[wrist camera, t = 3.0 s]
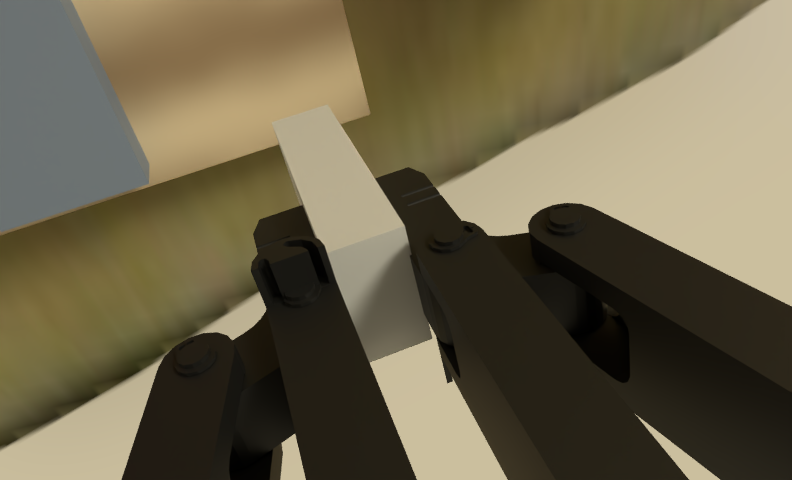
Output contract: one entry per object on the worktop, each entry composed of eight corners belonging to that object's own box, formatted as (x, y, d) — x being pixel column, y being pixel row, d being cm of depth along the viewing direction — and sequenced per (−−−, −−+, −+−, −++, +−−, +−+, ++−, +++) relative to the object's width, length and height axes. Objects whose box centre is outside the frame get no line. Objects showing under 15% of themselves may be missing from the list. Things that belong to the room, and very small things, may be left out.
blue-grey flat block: (-110, 23, 24) (-129, 37, 22) (59, -25, 25) (52, -15, 23) (9, 209, 28) (1, 232, 27) (149, 164, 29) (149, 183, 27)
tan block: (-199, 3, 26) (-250, 28, 23) (293, -130, 29) (310, -125, 25) (-50, 215, 32) (-73, 259, 28) (349, 87, 34) (370, 114, 31)
